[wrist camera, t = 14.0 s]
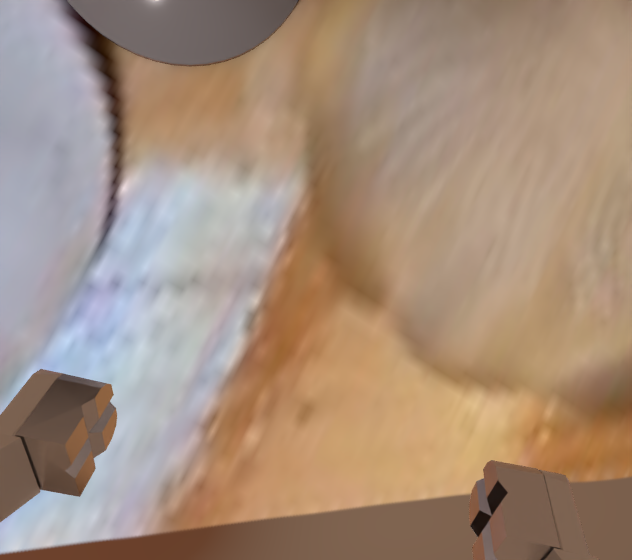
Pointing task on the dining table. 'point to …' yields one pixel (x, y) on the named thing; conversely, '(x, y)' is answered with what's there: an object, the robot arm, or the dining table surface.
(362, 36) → the dining table surface
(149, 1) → the charcoal plate
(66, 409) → the robot arm
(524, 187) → the dining table surface
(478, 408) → the dining table surface
